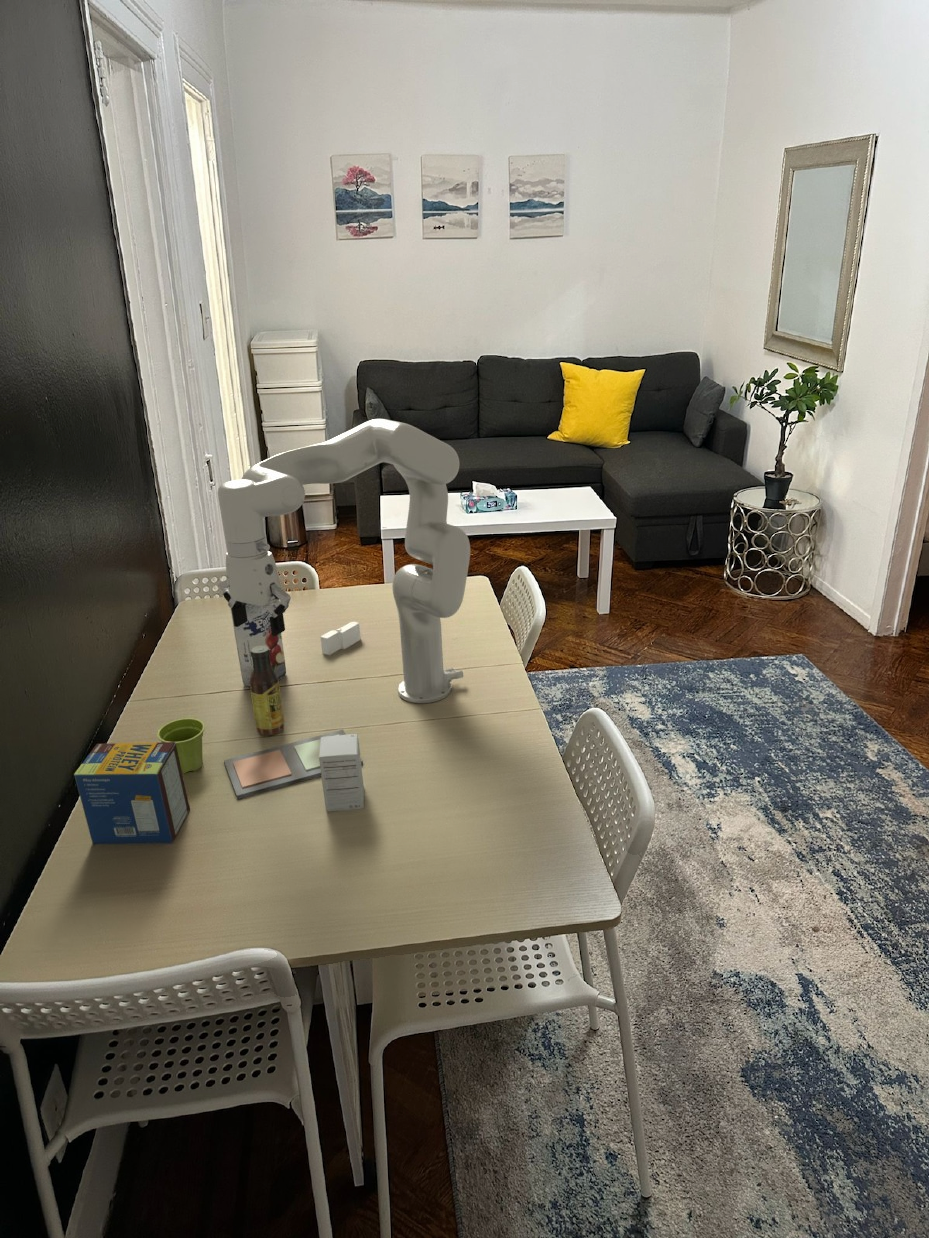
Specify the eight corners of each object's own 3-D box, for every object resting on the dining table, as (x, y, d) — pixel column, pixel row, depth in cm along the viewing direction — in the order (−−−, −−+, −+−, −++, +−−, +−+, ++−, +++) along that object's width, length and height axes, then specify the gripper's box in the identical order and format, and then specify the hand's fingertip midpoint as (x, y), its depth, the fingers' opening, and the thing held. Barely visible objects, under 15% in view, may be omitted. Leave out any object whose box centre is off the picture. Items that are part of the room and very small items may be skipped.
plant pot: (219, 756, 188) (213, 721, 185) (193, 781, 180) (186, 745, 177) (182, 750, 191) (175, 715, 188) (155, 774, 183) (147, 738, 180)
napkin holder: (362, 634, 242) (360, 615, 240) (371, 651, 232) (369, 632, 230) (308, 644, 238) (305, 624, 236) (314, 661, 228) (312, 642, 226)
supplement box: (327, 790, 176) (320, 735, 171) (364, 786, 176) (358, 732, 171) (325, 812, 169) (317, 756, 164) (363, 809, 169) (357, 753, 164)
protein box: (113, 810, 172) (96, 742, 166) (191, 809, 172) (177, 741, 165) (90, 845, 163) (72, 774, 157) (173, 844, 162) (157, 773, 156)
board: (343, 732, 195) (342, 728, 195) (363, 764, 183) (362, 759, 183) (224, 763, 186) (223, 759, 185) (237, 798, 174) (236, 794, 174)
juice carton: (237, 687, 216) (220, 585, 205) (262, 668, 225) (246, 569, 214) (268, 692, 213) (252, 589, 202) (291, 673, 222) (278, 573, 211)
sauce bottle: (278, 738, 194) (266, 657, 186) (252, 736, 195) (238, 655, 187) (289, 722, 200) (278, 643, 192) (263, 720, 201) (251, 642, 193)
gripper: (295, 546, 165) (306, 629, 172) (227, 534, 173) (240, 613, 180) (268, 559, 159) (280, 644, 166) (199, 546, 167) (213, 628, 174)
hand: (259, 628), depth 173 cm, fingers open, 9 cm apart
